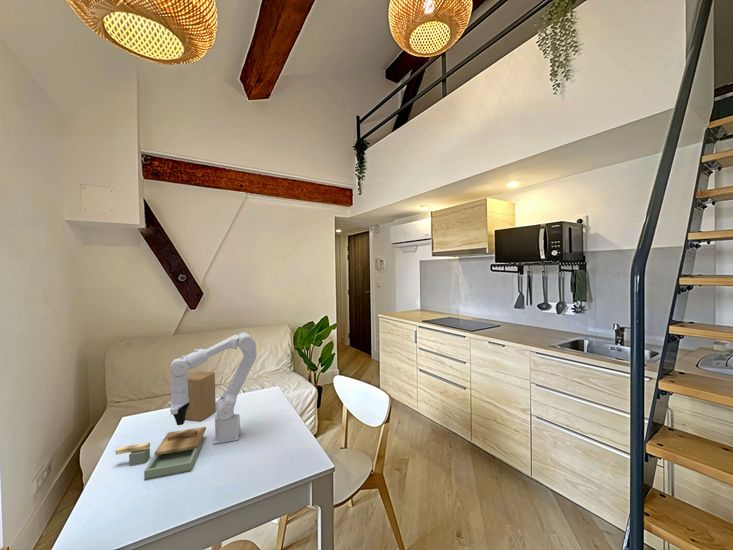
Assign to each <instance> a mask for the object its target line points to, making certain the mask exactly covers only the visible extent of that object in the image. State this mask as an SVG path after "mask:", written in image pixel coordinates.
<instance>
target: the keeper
mask: <svg viewBox="0 0 733 550" xmlns="http://www.w3.org/2000/svg"><path fill="white" fill-rule="evenodd" d="M150 457H151V446H150V447H149V449H147V450H141V451H135V452H129V455H128V461H129V462H128V464H129V467H130V466H137V465H143V464H146V463H147V462H148V460H149V459H150Z"/></svg>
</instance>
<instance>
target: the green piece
mask: <svg viewBox="0 0 733 550" xmlns="http://www.w3.org/2000/svg"><path fill="white" fill-rule="evenodd" d="M201 442H202V440H201V441H200V443H199V446H198V448H194V449H188V450H182V451H177V452H171V453H165V454H159V455H155V454H154V455H153V457H152V458H151V461H150V462H149V463H148V464H147V466H146V468H145V470H144V471H143V473H144V474H143V475H144V479H143V480H144V481H147V480H153V479H158V478H162V477H168V476H173V475H179V474H183V473H188V472H192V470H193V468H194V465H195V464H196V461H197V459H198V456H199V454H200V452H201V449H202V443H201Z"/></svg>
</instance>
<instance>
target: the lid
mask: <svg viewBox="0 0 733 550" xmlns="http://www.w3.org/2000/svg"><path fill="white" fill-rule="evenodd" d="M206 430H207V426H202V427H195V428H194V427H193V428H190V429H189V428H188V429H184V430H183V429H182V430H176V431H171V432H167V434H166V435H165V437H164V438H163V439H162V441H161V443H160V444H159V446H158V447H157V448H156V450H155V451H154V456H155V455H159V454H165V453H171V452H177V451H182V450H188V449H194V448H198V446H199V443H200V441H201V442H202V439H203V437H204V434H205V432H206Z"/></svg>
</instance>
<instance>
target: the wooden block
mask: <svg viewBox="0 0 733 550" xmlns="http://www.w3.org/2000/svg"><path fill="white" fill-rule="evenodd" d="M215 373H216V372H213V371H198V370H197V371H196V372H193V373H191V374H189V375H187V377H188V397H189V402H188V403H190V404H189V406H188V409H187V412H186V417H185V421H194V422H195V421H196V422H203V421H204V420H205V419H207V418H208V417H210V416H212V415H214V413H217V412H216V409H215V403H216V402H217V400H216V380H215V379H216V375H215Z"/></svg>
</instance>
